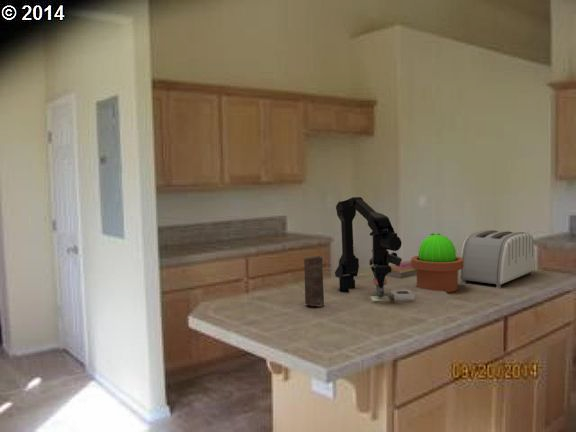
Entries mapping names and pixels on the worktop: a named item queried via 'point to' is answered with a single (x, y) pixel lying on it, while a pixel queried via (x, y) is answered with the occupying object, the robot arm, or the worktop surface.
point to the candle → (314, 281)
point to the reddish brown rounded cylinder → (379, 290)
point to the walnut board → (390, 300)
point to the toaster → (497, 256)
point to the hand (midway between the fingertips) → (380, 286)
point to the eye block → (402, 295)
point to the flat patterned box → (402, 267)
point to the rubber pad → (379, 298)
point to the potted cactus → (437, 264)
